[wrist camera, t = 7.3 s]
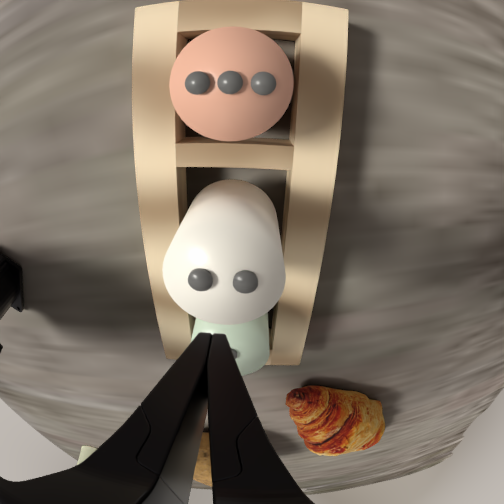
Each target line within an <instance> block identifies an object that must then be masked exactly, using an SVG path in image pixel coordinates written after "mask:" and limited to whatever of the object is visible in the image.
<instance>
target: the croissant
mask: <svg viewBox="0 0 504 504" xmlns="http://www.w3.org/2000/svg"><path fill="white" fill-rule="evenodd" d="M286 405H287V406H288V407H290V410H289V412H290V417H291V419H292V420H294V422H295V424H296V425H297V430H298V435H299V436H300V437H301V438H303V439H304V443H305V445H306V447H307V448H308V449H309V450H310V451H312V452H314V453H316V454H318V455H320V456H321V455H326V456H337V455H340V454H346V453H349V452H354V451H360V450H365V449H367V448H369V447H371V446H373V445H375V444H376V443H378V442H379V441H380V439H381V437H382V435H383V432H384V430H385V421H384V417H383V415H382V405H381V402H380V401H378V400H371V399H368V397H367V396H366V395H365V394H362V393H359V392H357V391H345V390H340V389H333V388H329V387H323V386H313V385H312V386H306V387H302V388H296V389H293V390H291V392H289V393H288V394H287V397H286Z"/></svg>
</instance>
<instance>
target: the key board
mask: <svg viewBox="0 0 504 504" xmlns="http://www.w3.org/2000/svg"><path fill="white" fill-rule="evenodd" d="M230 26H235V27H245V28H250V29H253V30H256V31H258V32H260V33H262V34H265V35H266V36H268V37H269V38H271V39H279V40H291V41H295V56H294V74H293V80H294V86H293V94H292V108H291V123H290V137H289V140H286V139H270V138H249V139H246V140H240V141H220V140H215V139H211V138H208V137H185V122H184V121H183V120H182V119H181V118H180V116H179V115H178V114H177V112H176V110H175V108H174V106H173V103H172V100H171V96H170V88H169V82H170V75H171V70H172V67H173V65H174V62H175V60H176V58H177V57H178V55H179V54H180V52H181V51H182V50H183V48H184V47H185V46H186V45H187V39H194V38H196V37H198V36H199V35H201V34H203V33H205V32H207V31H210V30H213V29H216V28H221V27H230ZM347 41H348V10H347V9H342V8H337V7H332V6H326V5H320V4H313V3H306V2H297V1H288V0H185V1H176V2H168V3H160V4H154V5H147V6H142V7H136V9H135V21H134V36H133V60H132V115H133V140H134V157H135V170H136V182H137V192H138V202H139V211H140V219H141V227H142V234H143V241H144V248H145V255H146V261H147V267H148V273H149V279H150V285H151V290H152V295H153V300H154V305H155V310H156V315H157V320H158V325H159V329H160V334H161V338H162V342H163V346H164V351H165V355H166V358H167V359H176V360H177V359H178V358H179V357H180V355H181V354H182V353H183V352H184V350H185V349H186V348H187V347H188V345H189V344H190V343H191V338H192V334H193V329H194V325H195V320H196V317H194V316H192V315H190V314H189V313H187V312H186V311H184V310H183V309H182V308H181V307H180V306H178V305H177V303H176V302H175V301H174V300H173V299H172V297H171V296H170V294H169V293H168V291H167V289H166V286H165V283H164V279H163V271H162V269H163V261H164V257H165V255H166V252H167V250H168V248H169V246H170V244H171V242H172V240H173V238H174V236H175V234H176V232H177V230H178V228H179V226H180V224H181V222H182V221H183V219H184V217H185V215H186V213H187V211H188V208H187V185H186V167H233V168H260V169H279V170H287V176H286V188H285V199H284V211H283V222H282V232H281V246H282V252H283V259H284V265H285V273H286V281H285V287H284V290H283V293H282V295H281V297H280V299H279V300H278V302H277V303H276V304H275V306H274V310H273V318H272V327H271V329H269V350H270V353H269V358H268V361H267V362H266V364H265V365H300V361H301V357H302V353H303V348H304V344H305V340H306V336H307V331H308V327H309V322H310V318H311V313H312V309H313V304H314V299H315V294H316V290H317V285H318V279H319V274H320V269H321V264H322V258H323V253H324V247H325V242H326V236H327V230H328V224H329V217H330V211H331V204H332V198H333V191H334V184H335V176H336V169H337V161H338V153H339V144H340V135H341V125H342V115H343V104H344V92H345V78H346V62H347Z"/></svg>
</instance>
